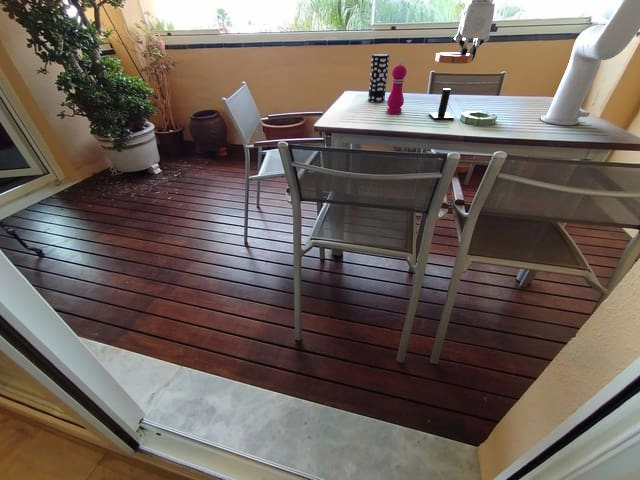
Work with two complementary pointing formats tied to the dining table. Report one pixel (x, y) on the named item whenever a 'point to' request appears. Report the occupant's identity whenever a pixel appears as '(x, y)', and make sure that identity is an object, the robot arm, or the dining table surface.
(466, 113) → the ring green
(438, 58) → the ring terracotta
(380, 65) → the white-spotted black cylinder
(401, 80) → the pepper mill
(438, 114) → the peg stand
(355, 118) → the dining table surface
